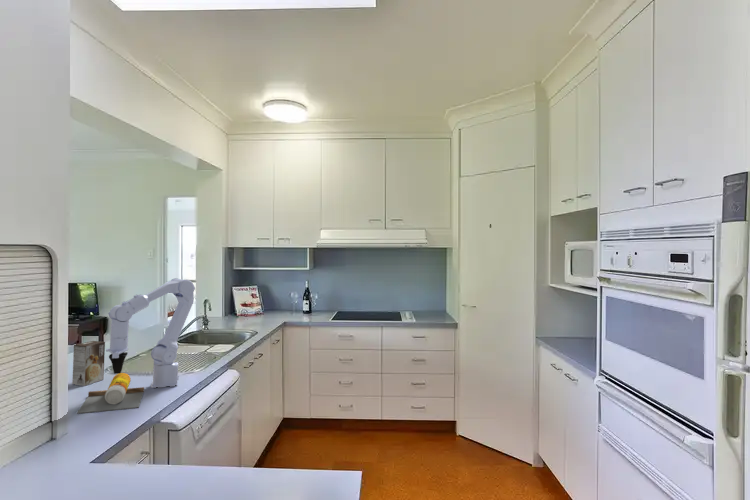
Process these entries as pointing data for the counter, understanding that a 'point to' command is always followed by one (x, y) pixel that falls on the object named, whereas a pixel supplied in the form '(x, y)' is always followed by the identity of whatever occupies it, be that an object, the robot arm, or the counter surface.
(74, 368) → the coffee box
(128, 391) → the bar
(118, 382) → the beer can
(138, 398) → the mat
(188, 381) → the counter surface
